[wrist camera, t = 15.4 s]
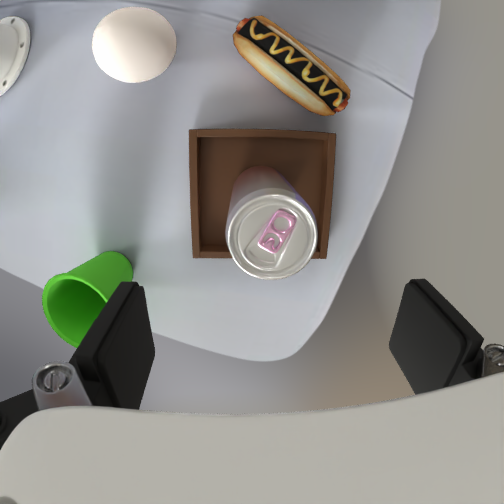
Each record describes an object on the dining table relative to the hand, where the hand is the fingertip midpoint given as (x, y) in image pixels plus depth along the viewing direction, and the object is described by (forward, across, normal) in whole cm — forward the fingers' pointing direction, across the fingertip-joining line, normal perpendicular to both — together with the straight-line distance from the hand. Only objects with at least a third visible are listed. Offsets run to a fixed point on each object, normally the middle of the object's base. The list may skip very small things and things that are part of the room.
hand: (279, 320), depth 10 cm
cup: (+25, +17, +10) cm, 32 cm away
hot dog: (+25, -3, -13) cm, 28 cm away
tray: (+25, -1, +1) cm, 25 cm away
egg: (+25, +11, -15) cm, 31 cm away
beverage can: (+24, -1, +1) cm, 24 cm away
